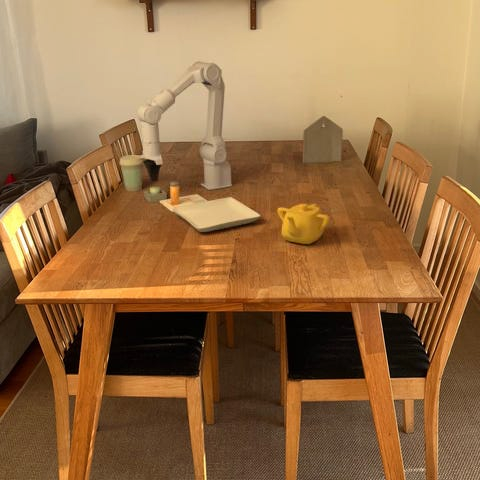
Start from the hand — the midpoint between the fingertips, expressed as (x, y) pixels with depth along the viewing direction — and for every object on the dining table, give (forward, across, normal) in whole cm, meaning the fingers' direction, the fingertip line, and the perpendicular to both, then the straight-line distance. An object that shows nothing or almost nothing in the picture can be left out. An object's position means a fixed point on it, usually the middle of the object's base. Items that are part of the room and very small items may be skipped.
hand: (154, 180), depth 197 cm
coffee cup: (+7, -15, -3) cm, 17 cm away
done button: (+6, 0, 0) cm, 6 cm away
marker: (+6, +10, +3) cm, 12 cm away
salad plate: (+7, +30, +9) cm, 32 cm away
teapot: (+7, +57, +23) cm, 62 cm away
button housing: (+6, 0, 0) cm, 6 cm away
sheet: (+6, +10, +7) cm, 14 cm away
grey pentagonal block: (+7, -14, +79) cm, 81 cm away
